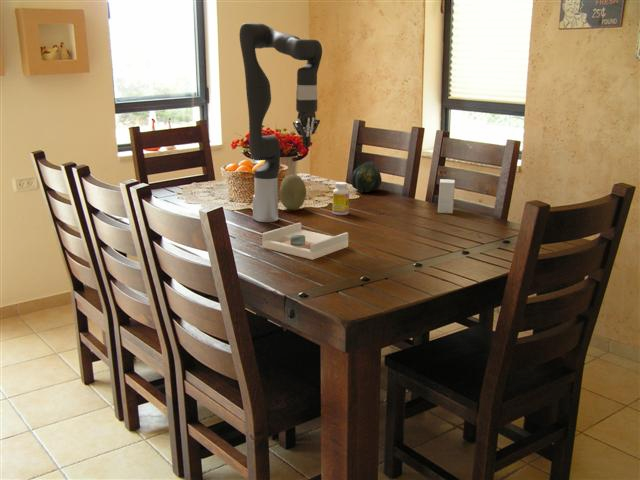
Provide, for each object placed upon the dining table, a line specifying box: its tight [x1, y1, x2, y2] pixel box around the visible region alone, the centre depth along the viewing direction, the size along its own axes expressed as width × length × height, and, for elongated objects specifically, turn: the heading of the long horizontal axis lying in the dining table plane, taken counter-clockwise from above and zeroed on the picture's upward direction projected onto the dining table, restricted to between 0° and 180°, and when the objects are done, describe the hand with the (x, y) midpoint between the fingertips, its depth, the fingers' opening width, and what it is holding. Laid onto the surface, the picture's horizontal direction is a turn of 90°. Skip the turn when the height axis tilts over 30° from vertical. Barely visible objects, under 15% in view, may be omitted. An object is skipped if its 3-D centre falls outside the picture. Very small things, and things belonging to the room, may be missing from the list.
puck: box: [291, 235, 305, 246], centre depth 241 cm, size 5×5×2 cm
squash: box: [350, 160, 383, 193], centre depth 339 cm, size 14×15×15 cm
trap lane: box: [261, 222, 349, 260], centre depth 246 cm, size 22×20×5 cm
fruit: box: [279, 174, 307, 210], centre depth 300 cm, size 11×11×15 cm
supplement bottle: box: [332, 181, 350, 216], centre depth 294 cm, size 7×7×13 cm
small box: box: [437, 178, 456, 214], centre depth 301 cm, size 8×6×13 cm
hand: (306, 146), depth 257 cm, fingers closed
